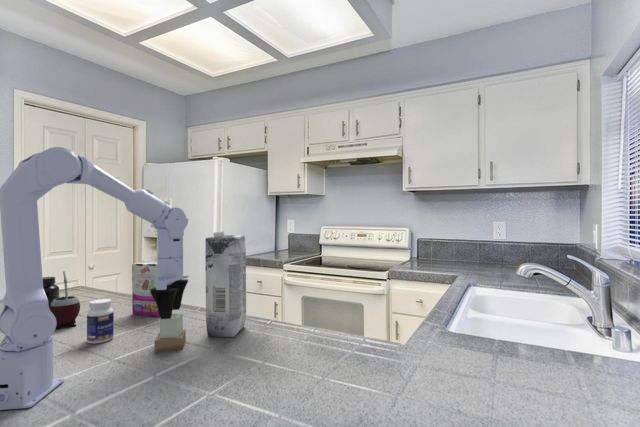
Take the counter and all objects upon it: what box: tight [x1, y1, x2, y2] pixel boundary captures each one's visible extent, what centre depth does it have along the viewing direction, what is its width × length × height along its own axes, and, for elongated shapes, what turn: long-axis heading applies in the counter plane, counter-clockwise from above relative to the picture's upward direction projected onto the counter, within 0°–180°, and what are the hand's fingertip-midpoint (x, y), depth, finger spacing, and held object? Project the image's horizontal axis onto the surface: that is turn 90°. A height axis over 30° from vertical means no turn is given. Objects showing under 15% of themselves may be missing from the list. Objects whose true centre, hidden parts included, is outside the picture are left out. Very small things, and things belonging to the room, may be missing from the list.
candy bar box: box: [131, 261, 160, 318], centre depth 109 cm, size 11×5×16 cm, turn 73°
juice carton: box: [204, 230, 247, 338], centre depth 92 cm, size 9×10×27 cm
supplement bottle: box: [42, 276, 61, 309], centre depth 108 cm, size 7×7×12 cm
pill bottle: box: [86, 298, 115, 345], centre depth 86 cm, size 6×6×10 cm
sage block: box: [159, 313, 184, 338], centre depth 82 cm, size 4×4×4 cm
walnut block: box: [154, 329, 187, 353], centre depth 82 cm, size 6×6×3 cm
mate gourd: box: [50, 271, 81, 331], centre depth 98 cm, size 8×8×15 cm
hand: (170, 313), depth 82 cm, fingers open, 7 cm apart
